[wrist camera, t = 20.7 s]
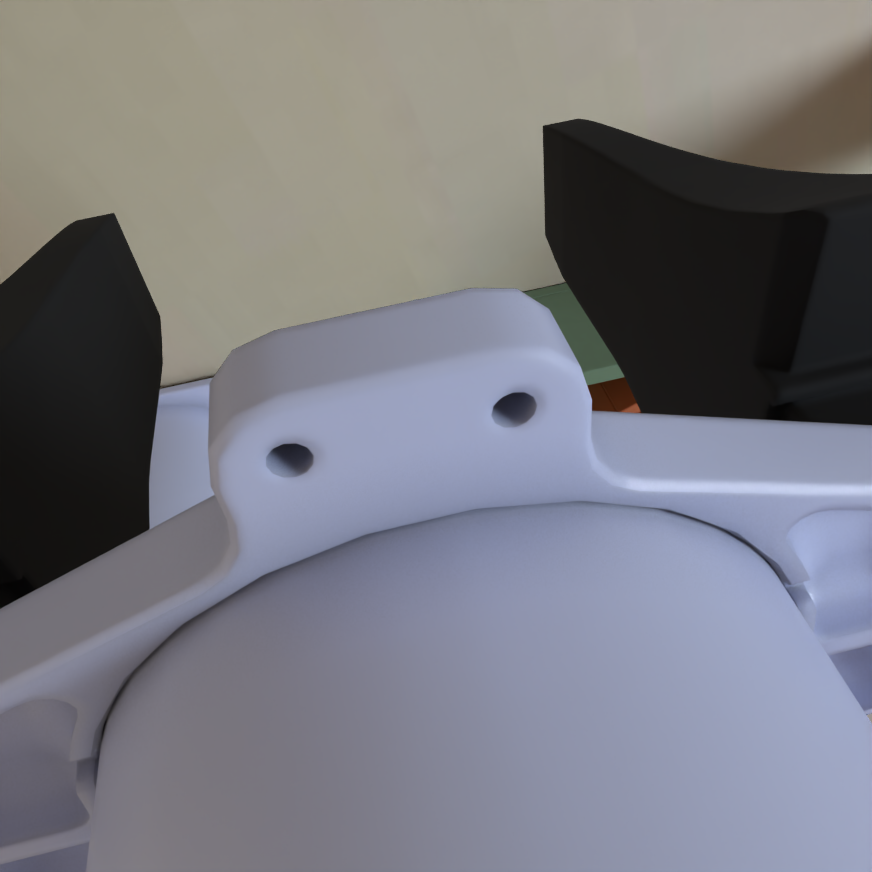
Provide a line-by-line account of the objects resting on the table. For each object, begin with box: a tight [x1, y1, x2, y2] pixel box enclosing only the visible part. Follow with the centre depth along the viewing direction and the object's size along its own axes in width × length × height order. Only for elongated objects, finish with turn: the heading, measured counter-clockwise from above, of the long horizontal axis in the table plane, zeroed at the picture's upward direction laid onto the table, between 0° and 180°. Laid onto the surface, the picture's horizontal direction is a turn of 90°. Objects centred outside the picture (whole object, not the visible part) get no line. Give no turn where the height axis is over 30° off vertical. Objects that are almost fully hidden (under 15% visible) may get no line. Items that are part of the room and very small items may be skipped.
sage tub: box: [523, 283, 624, 385], centre depth 32 cm, size 13×17×5 cm
